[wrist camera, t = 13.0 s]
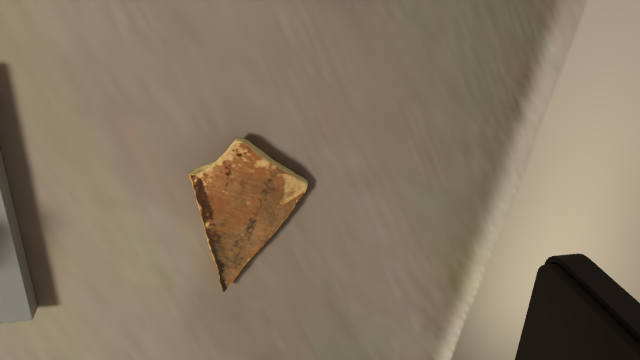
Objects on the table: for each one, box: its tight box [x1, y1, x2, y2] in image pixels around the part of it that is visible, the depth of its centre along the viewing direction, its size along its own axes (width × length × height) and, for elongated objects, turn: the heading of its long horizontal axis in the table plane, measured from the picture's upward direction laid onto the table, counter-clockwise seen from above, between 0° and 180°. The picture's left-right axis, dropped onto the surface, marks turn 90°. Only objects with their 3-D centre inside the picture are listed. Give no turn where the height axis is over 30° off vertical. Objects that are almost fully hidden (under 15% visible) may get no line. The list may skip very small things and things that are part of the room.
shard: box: [189, 138, 308, 292], centre depth 40 cm, size 11×8×2 cm
